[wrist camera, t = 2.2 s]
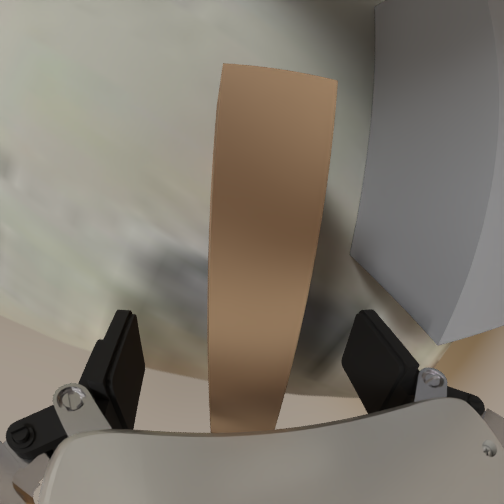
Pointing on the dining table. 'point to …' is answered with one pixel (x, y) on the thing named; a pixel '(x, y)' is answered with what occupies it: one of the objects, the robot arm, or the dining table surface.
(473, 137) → the cabinet
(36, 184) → the dining table surface
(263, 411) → the tan wooden plank
